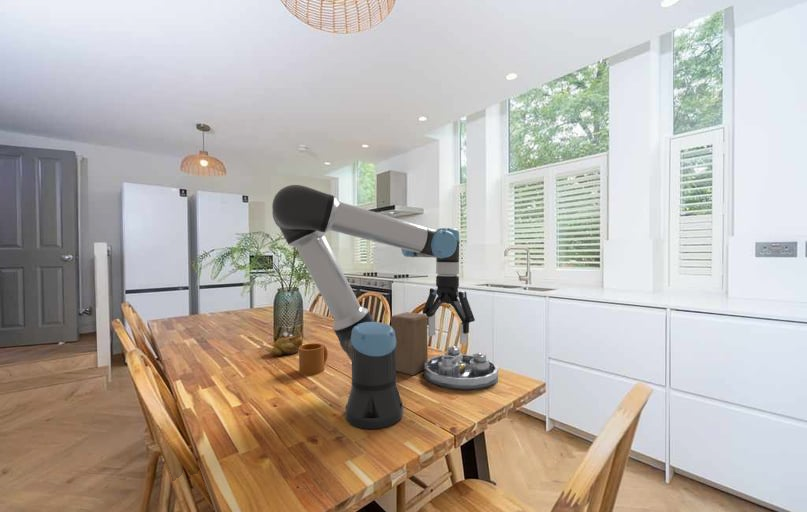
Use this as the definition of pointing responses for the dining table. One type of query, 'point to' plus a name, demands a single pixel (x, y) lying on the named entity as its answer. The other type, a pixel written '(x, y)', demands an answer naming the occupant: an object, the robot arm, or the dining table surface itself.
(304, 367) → the mug
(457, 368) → the gear
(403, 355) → the wooden block
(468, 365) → the carrier
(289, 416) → the dining table surface
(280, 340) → the bread roll
